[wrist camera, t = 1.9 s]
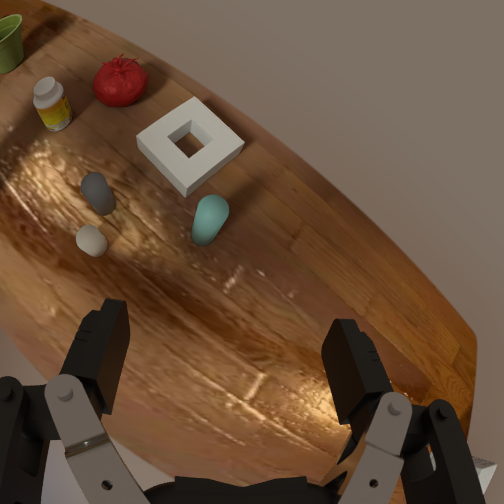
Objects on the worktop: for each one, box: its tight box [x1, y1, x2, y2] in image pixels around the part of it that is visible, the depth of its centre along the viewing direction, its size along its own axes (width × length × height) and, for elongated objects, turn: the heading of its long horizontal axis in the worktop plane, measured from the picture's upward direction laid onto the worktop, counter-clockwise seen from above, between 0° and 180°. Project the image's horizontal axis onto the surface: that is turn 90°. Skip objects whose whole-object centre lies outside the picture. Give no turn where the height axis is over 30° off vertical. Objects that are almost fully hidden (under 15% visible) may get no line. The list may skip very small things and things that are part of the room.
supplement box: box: [430, 452, 497, 494], centre depth 41 cm, size 10×9×17 cm
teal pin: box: [191, 195, 229, 246], centre depth 40 cm, size 4×4×12 cm
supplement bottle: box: [33, 77, 72, 131], centre depth 37 cm, size 6×6×10 cm
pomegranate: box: [93, 53, 149, 107], centre depth 42 cm, size 10×10×9 cm
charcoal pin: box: [81, 172, 116, 216], centre depth 38 cm, size 4×4×8 cm
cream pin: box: [76, 225, 108, 257], centre depth 39 cm, size 4×4×5 cm
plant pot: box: [0, 14, 24, 74], centre depth 35 cm, size 12×12×11 cm
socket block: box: [136, 97, 245, 198], centre depth 45 cm, size 12×12×4 cm
